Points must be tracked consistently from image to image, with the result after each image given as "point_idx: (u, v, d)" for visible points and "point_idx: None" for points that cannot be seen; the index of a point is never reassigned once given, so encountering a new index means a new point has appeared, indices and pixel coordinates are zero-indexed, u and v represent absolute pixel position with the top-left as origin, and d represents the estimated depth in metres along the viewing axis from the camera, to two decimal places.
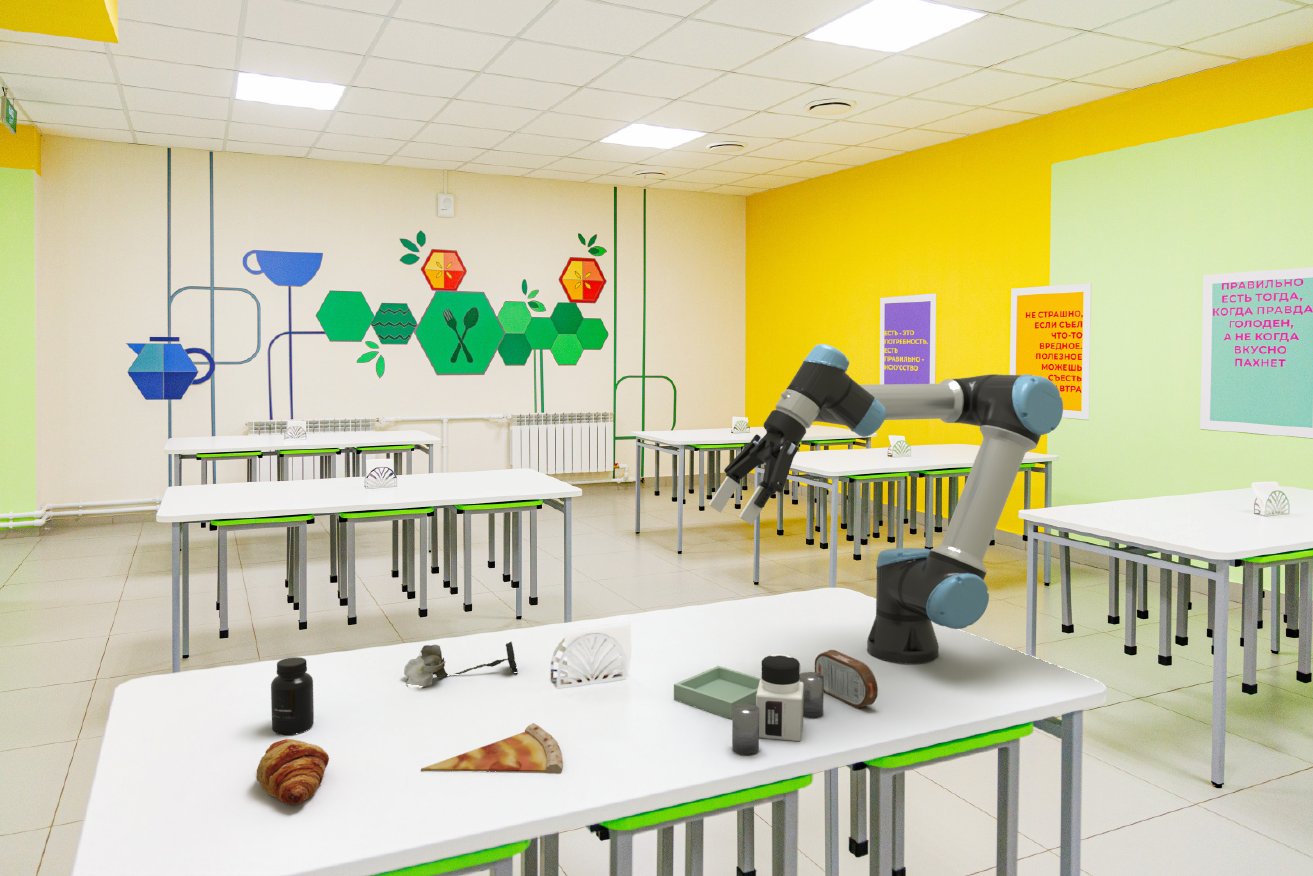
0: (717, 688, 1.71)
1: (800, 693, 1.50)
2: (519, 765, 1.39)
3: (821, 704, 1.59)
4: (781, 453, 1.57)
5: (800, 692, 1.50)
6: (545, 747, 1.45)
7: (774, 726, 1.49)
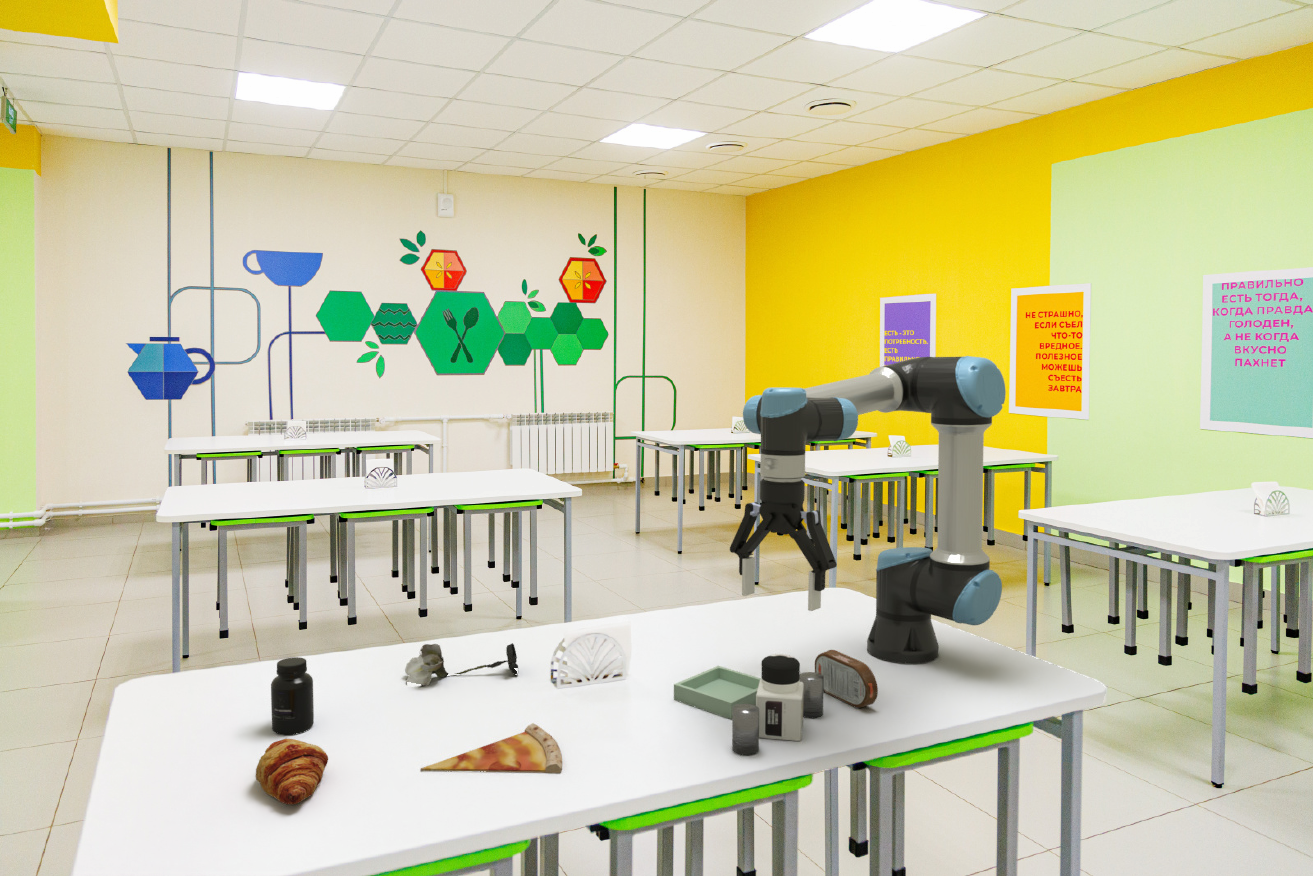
0: (717, 688, 1.71)
1: (800, 693, 1.50)
2: (519, 765, 1.39)
3: (821, 704, 1.59)
4: (812, 529, 1.45)
5: (800, 692, 1.50)
6: (545, 747, 1.45)
7: (774, 726, 1.49)
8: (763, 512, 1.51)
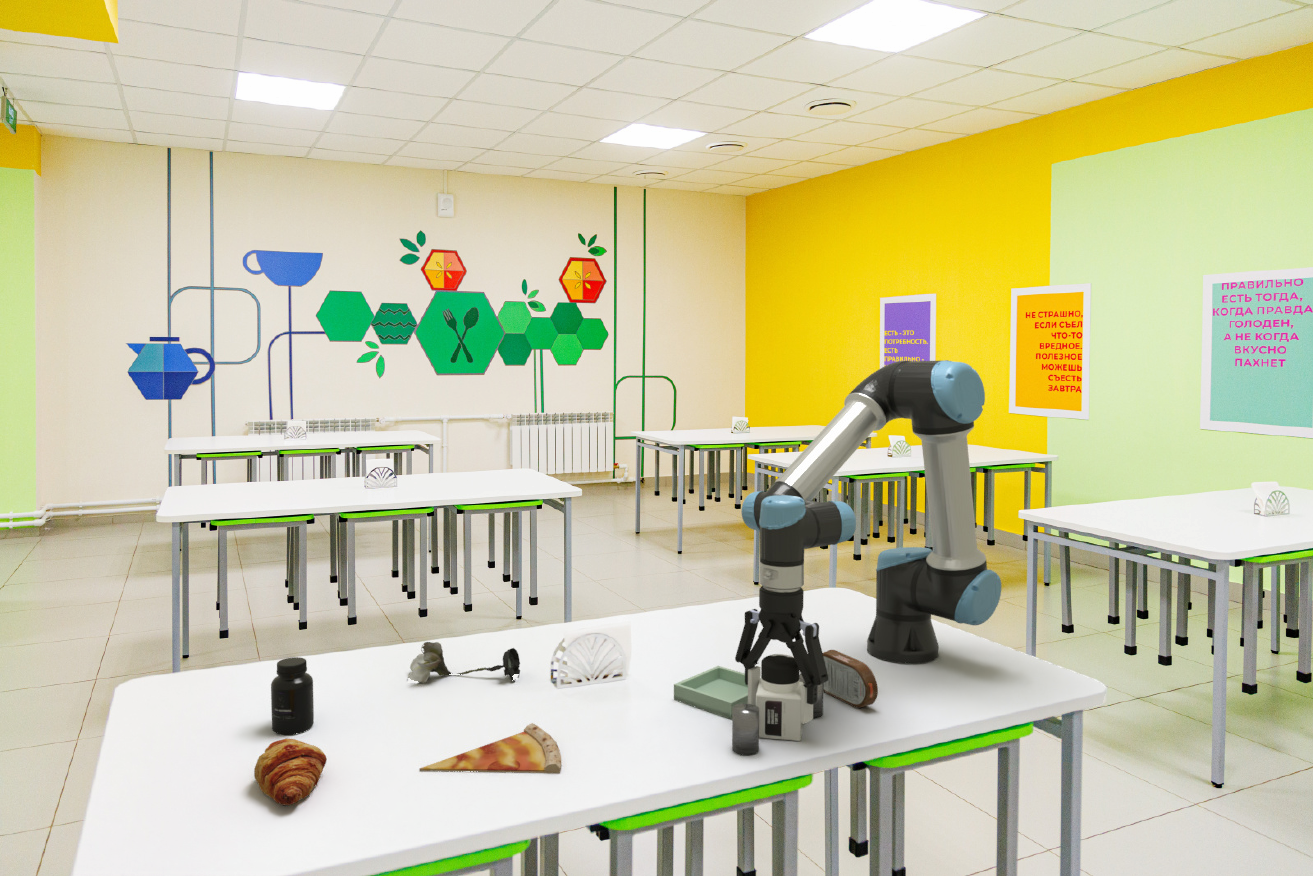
0: (717, 688, 1.71)
1: (800, 693, 1.50)
2: (518, 765, 1.39)
3: (821, 704, 1.59)
4: (809, 643, 1.46)
5: (800, 692, 1.50)
6: (544, 747, 1.45)
7: (774, 726, 1.49)
8: (763, 618, 1.53)
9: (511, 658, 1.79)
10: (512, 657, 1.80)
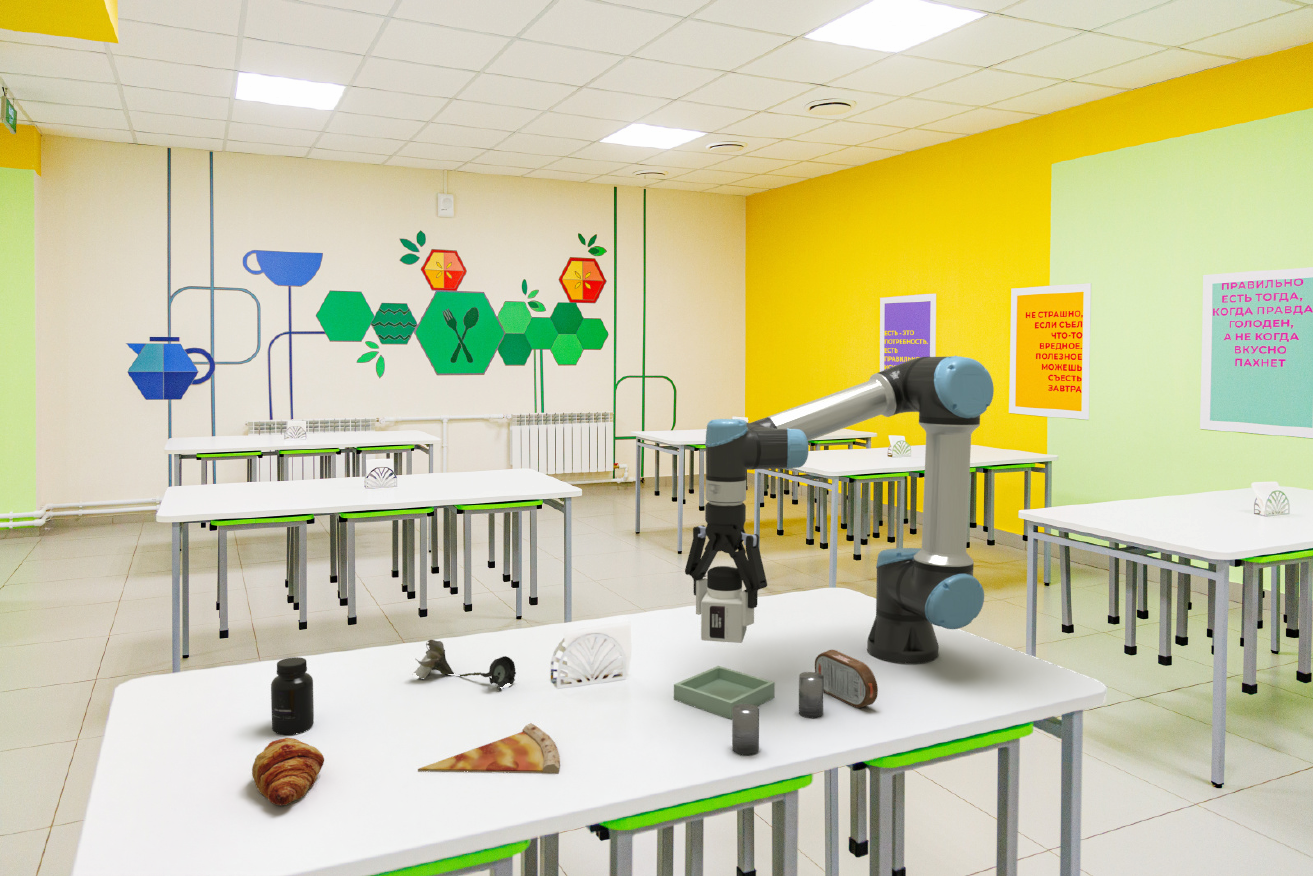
0: (717, 688, 1.71)
1: None
2: (516, 765, 1.39)
3: (821, 704, 1.59)
4: (749, 552, 1.60)
5: None
6: (542, 747, 1.45)
7: (718, 629, 1.63)
8: (709, 532, 1.66)
9: (506, 666, 1.75)
10: (507, 666, 1.75)
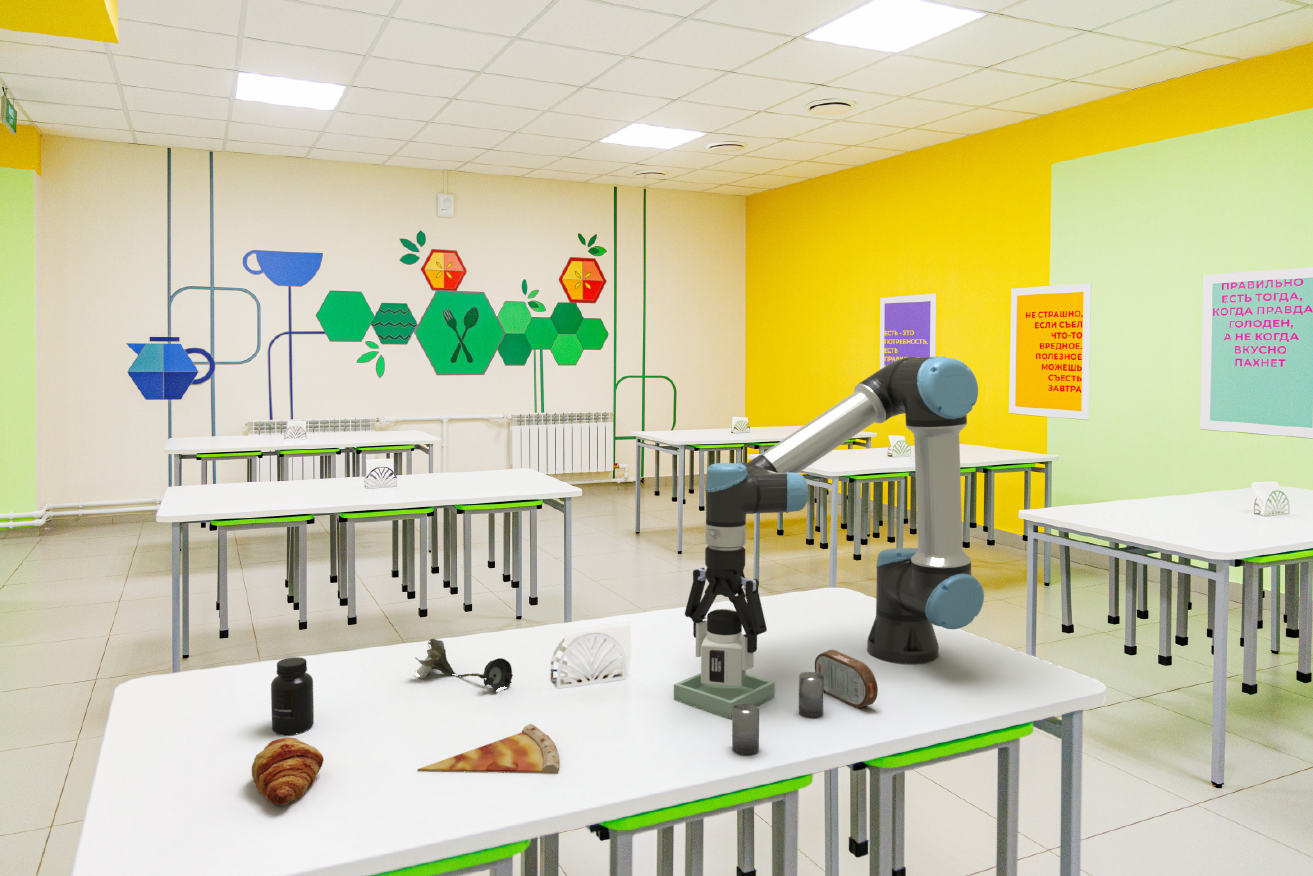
0: (717, 688, 1.71)
1: (741, 643, 1.64)
2: (516, 766, 1.39)
3: (821, 704, 1.59)
4: (749, 597, 1.60)
5: (741, 642, 1.64)
6: (542, 748, 1.44)
7: (717, 673, 1.63)
8: (708, 576, 1.67)
9: (502, 668, 1.74)
10: (504, 668, 1.74)
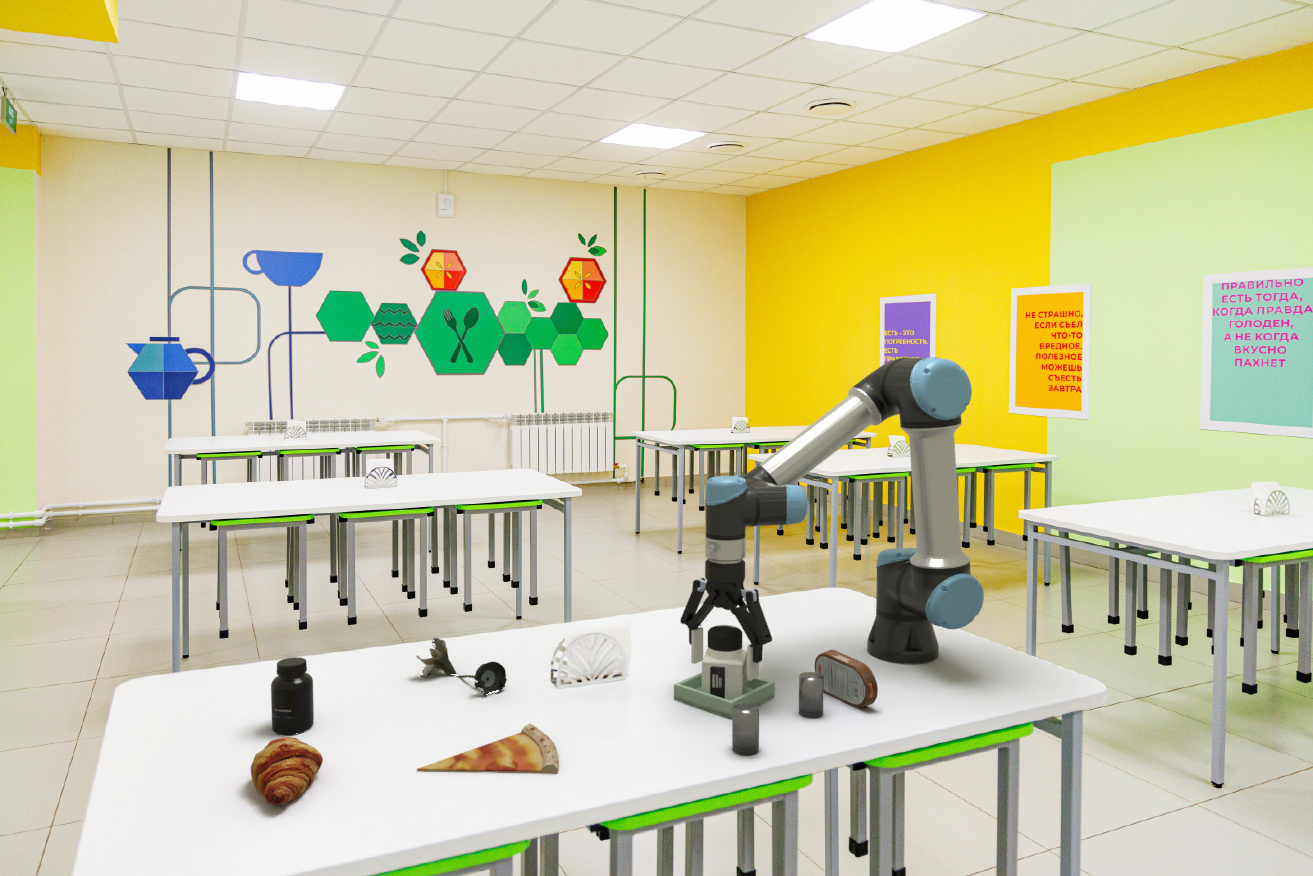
0: None
1: (742, 659, 1.64)
2: (515, 765, 1.39)
3: (821, 704, 1.59)
4: (750, 608, 1.60)
5: (742, 658, 1.65)
6: (541, 747, 1.44)
7: (718, 689, 1.64)
8: (708, 588, 1.67)
9: (496, 672, 1.72)
10: (498, 671, 1.72)
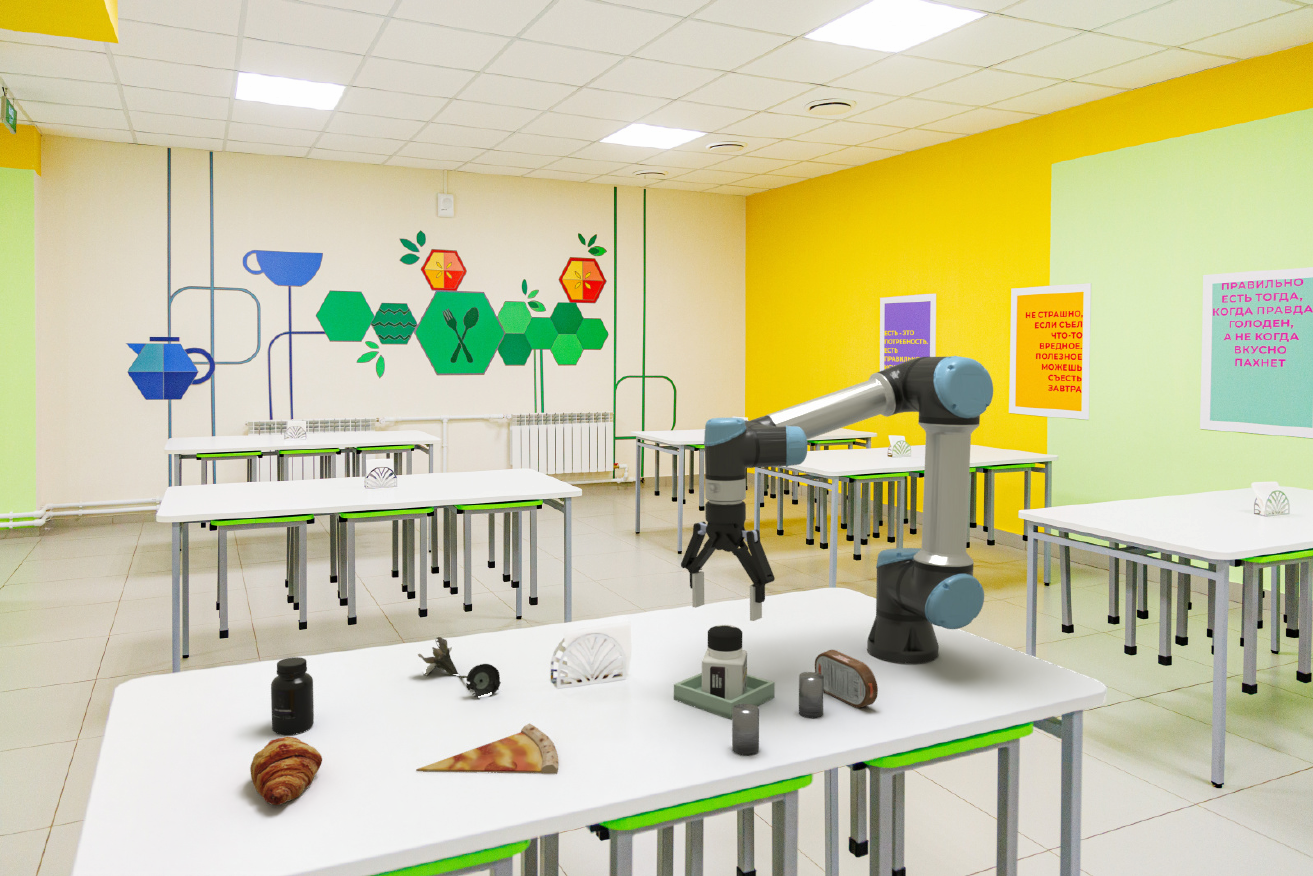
0: None
1: (742, 659, 1.64)
2: (515, 766, 1.39)
3: (821, 704, 1.59)
4: (752, 547, 1.59)
5: (742, 658, 1.65)
6: (541, 747, 1.44)
7: (718, 689, 1.64)
8: (709, 531, 1.66)
9: (490, 674, 1.70)
10: (492, 674, 1.71)
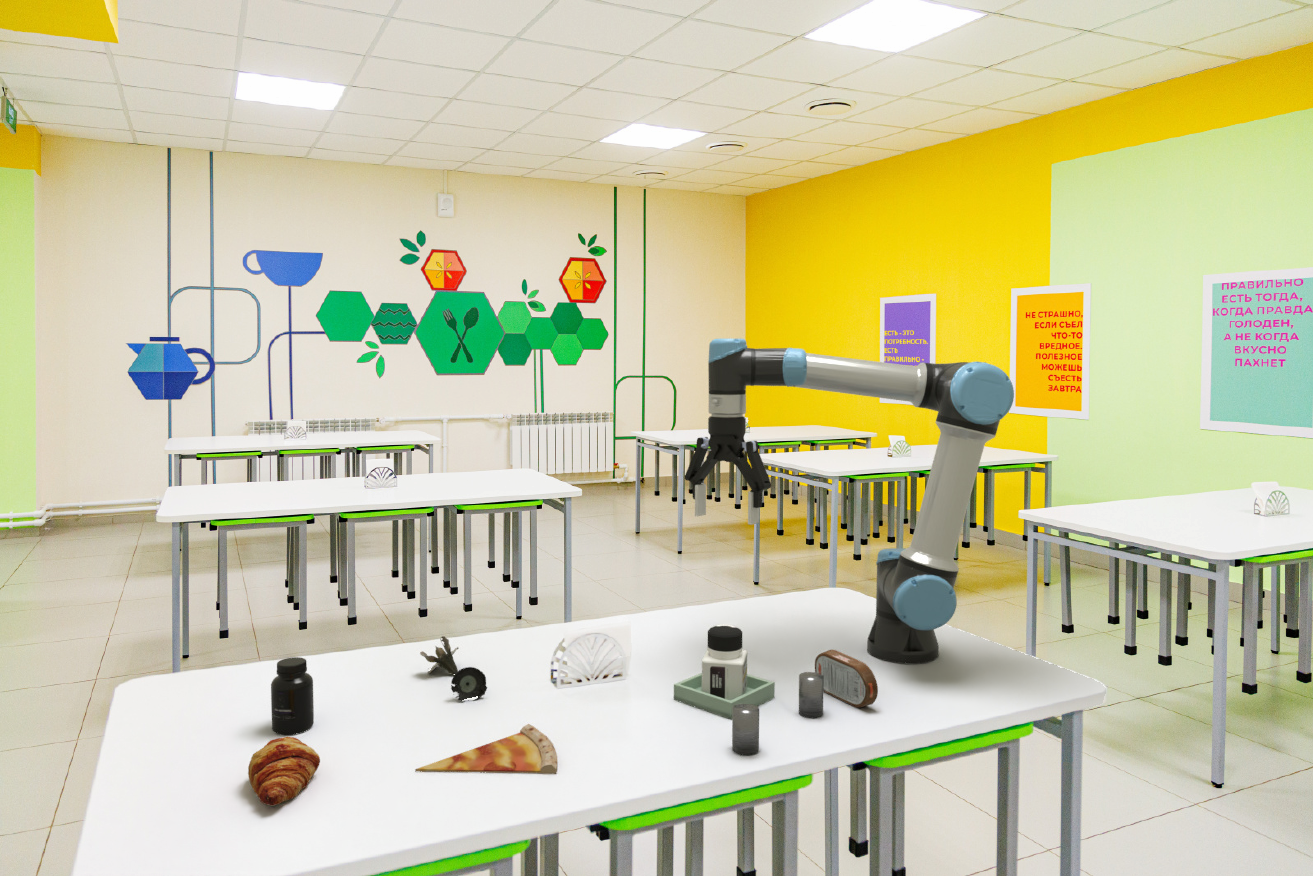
0: None
1: (742, 659, 1.64)
2: (514, 766, 1.39)
3: (821, 704, 1.59)
4: (750, 456, 1.73)
5: (742, 658, 1.65)
6: (540, 748, 1.44)
7: (718, 689, 1.64)
8: (711, 444, 1.79)
9: (478, 678, 1.68)
10: (480, 678, 1.68)
